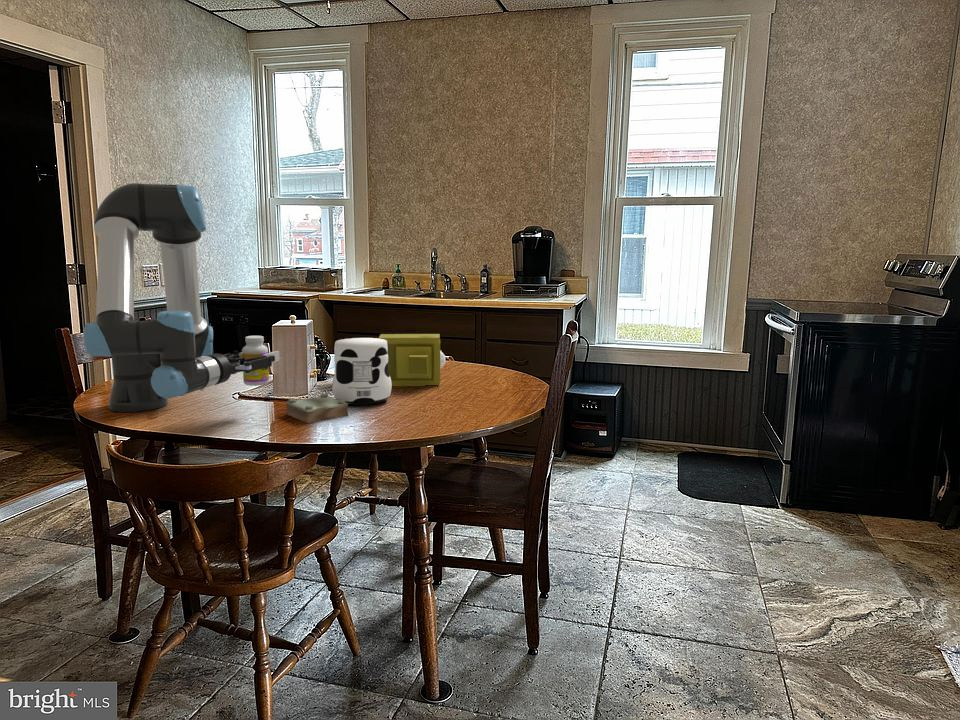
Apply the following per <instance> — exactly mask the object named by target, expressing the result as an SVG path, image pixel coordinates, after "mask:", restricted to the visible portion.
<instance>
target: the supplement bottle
mask: <svg viewBox="0 0 960 720" xmlns="http://www.w3.org/2000/svg"><path fill="white" fill-rule="evenodd" d="M264 338H265V337H264V336H262V335H248V336H245V338H244V339H245V343H246V344H245V346H243V347H242V349H241V352H242V358H244V359H247V358H254V357H260V356H262V355H264V354H267V353H269V349H268V347H267V345H264V341H265V339H264ZM242 377H243V378H242V379H243V384H244V385H245V386H249V387H251V386H255V387H256V386H264V385H267V384H269V382H270V367H268V368H262V369H259V370H255V371H252V372H250V373H245V371H243V372H242Z"/></svg>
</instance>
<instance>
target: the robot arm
mask: <svg viewBox="0 0 960 720" xmlns="http://www.w3.org/2000/svg"><path fill="white" fill-rule="evenodd" d="M98 206H99V207H98V208H97V210H96V212H95V216H94V221H93V222H94V223H93V224H94V225H93V227H94V228H93V230H94V234H95V235H96V236H97V238H98V242H97V243H98V246H97V247H98V250H97V277H96V278H97V281H96V308H95V309H96V310H95V311H96V312H95V319H96V320H95V321H93V322H87V323H86V324H84V328H83V343H84V349H85V351H86V354H88V356H90V357H108V358H110V357H111V364H112V365H111V366H112V375H113V376H112V377H113V383H112V387H111V390H110V394H109V398H108V409H109V410H110V411H112V412H118V413H119V412H120V413H135V412H144V411H151V410H157V409H160V408H163V407H166V406H167V405H168V403H169V400H168V399H172V398H176V397H183V396H185V395H188V394H191V393H194V392H197V391H205V389H207V388H209V387H213V386H216V385H219V384H223V383H225V382H227V381H228V380H229V379H230V377H231V375H236V374H238V373H243V371H245V373H250V372H252V371H255V370H259V369H262V368H268V367H269V368H270V367H272V366H273V363H276V362H279V361H280V351H279V350H276V351H271V352H268V353H267V354H264V355H262V356H260V357H254V358H247V359H244V358H242V351H241V352H239V350H233V353H232V354H231V352H228V353H225V354H221V353H213V349H214V348H213V347H214V345H213V343H214V329H213V328H214V327H213V326H211V325H208V321H207V320H206V319H205V318H204V317H203V316H202V310H201V301H200V288H199V285H200V284H199V272H198V259H197V245H196V243H197V242H199V241H200V240H201V238H202V233H203V232H206V231H207V221H206V217H205V211H204V206H203V201H202V197H201V193H200V191H199V189H198V188H197V187H195V186H193V185H184V184H183V185H182V184H180V183H178V184H163V183H162V184H161V183H160V184H158V183H156V184H155V183H151V184H150V183H139V182H138V183H136V182H135V183H127V184H124V185H121V186H119V187H117V188H115V189H114V190H112V191H111V192H110V193H109V194H108V195H107V196H106V197H105V198H104V199H103V201H102V202H101V203H100V205H98ZM140 231H143V232H152V239H154V240H155V241H156V242H157V243H159V245H160V254H161V255H160V257H161V264H162V274H163V275H162V276H163V282H164V283H163V284H164V294H165V303H166V310H164V311H163V310H162V311H159V312H158V313H157V315H156V319H154V320H152V319H151V320H136V321H135V240H136V239H138V236H139V234H140Z"/></svg>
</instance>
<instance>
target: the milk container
mask: <svg viewBox="0 0 960 720" xmlns="http://www.w3.org/2000/svg"><path fill="white" fill-rule="evenodd" d="M333 350H334V352H333V353H334V358H333V359H334V374H333V377H332V378H333V379H332V383H331V384H332V385H331V389H332V394H333V398H334V399H337V400H345V402H346V403H348V405H371V404H377V403H380V402H384V401H386V400H387V399H388V398H390V395H391V393H392V387H393V386H392V383H391V378H390V375H389V371H388V346H387V340H384V339H379V337H378V338H377V337H375V338H374V337H352V338H344V339H342V338H341V339H338V340H336V341H335V342H334V349H333Z"/></svg>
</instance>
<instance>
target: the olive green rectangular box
mask: <svg viewBox="0 0 960 720" xmlns="http://www.w3.org/2000/svg"><path fill="white" fill-rule="evenodd" d="M440 337H441V335H440V333H393V334H392V333H386V334H385V333H381V334H379V337H378V339H384V340H387V346H388V371H389V375H390V378H391V383H392V387H426V386H425V385H440V386H441V369H442V368H443V367H444V366H445V364H446V355H445V354H444V352H442V350H441V338H440Z"/></svg>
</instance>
